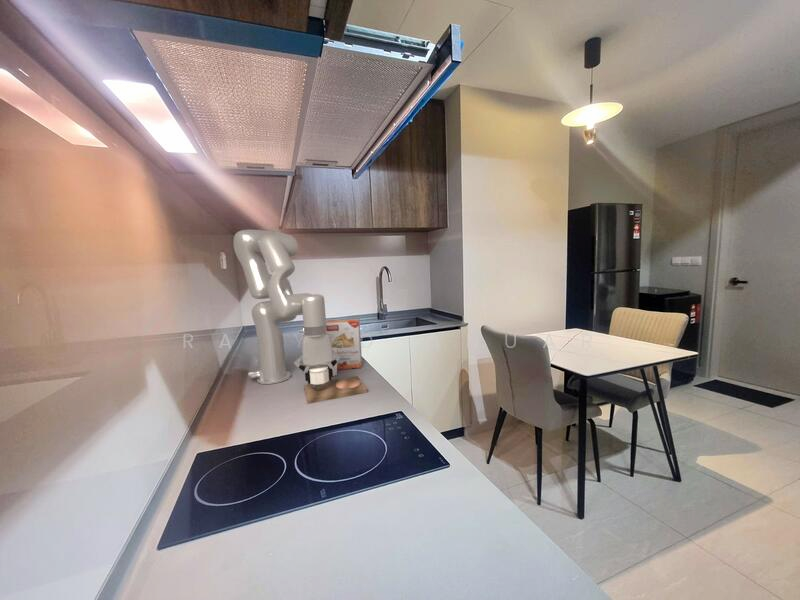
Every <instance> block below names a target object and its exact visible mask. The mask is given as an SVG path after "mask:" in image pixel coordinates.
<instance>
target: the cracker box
mask: <svg viewBox="0 0 800 600" xmlns="http://www.w3.org/2000/svg"><path fill="white" fill-rule="evenodd" d="M326 328H327V333H329V334H330V338H331V343H332V349H336V350H337V353H338V354H339V355H340V356H341V358H340V359H339V360H338V361H337V370H353V369H352V368H358V369H361V368H362V365H363V360H362V359H363V358H362V357H363V356H362V340H361V323H360V318H355V319H354V318H353V319H329V320H326Z"/></svg>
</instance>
